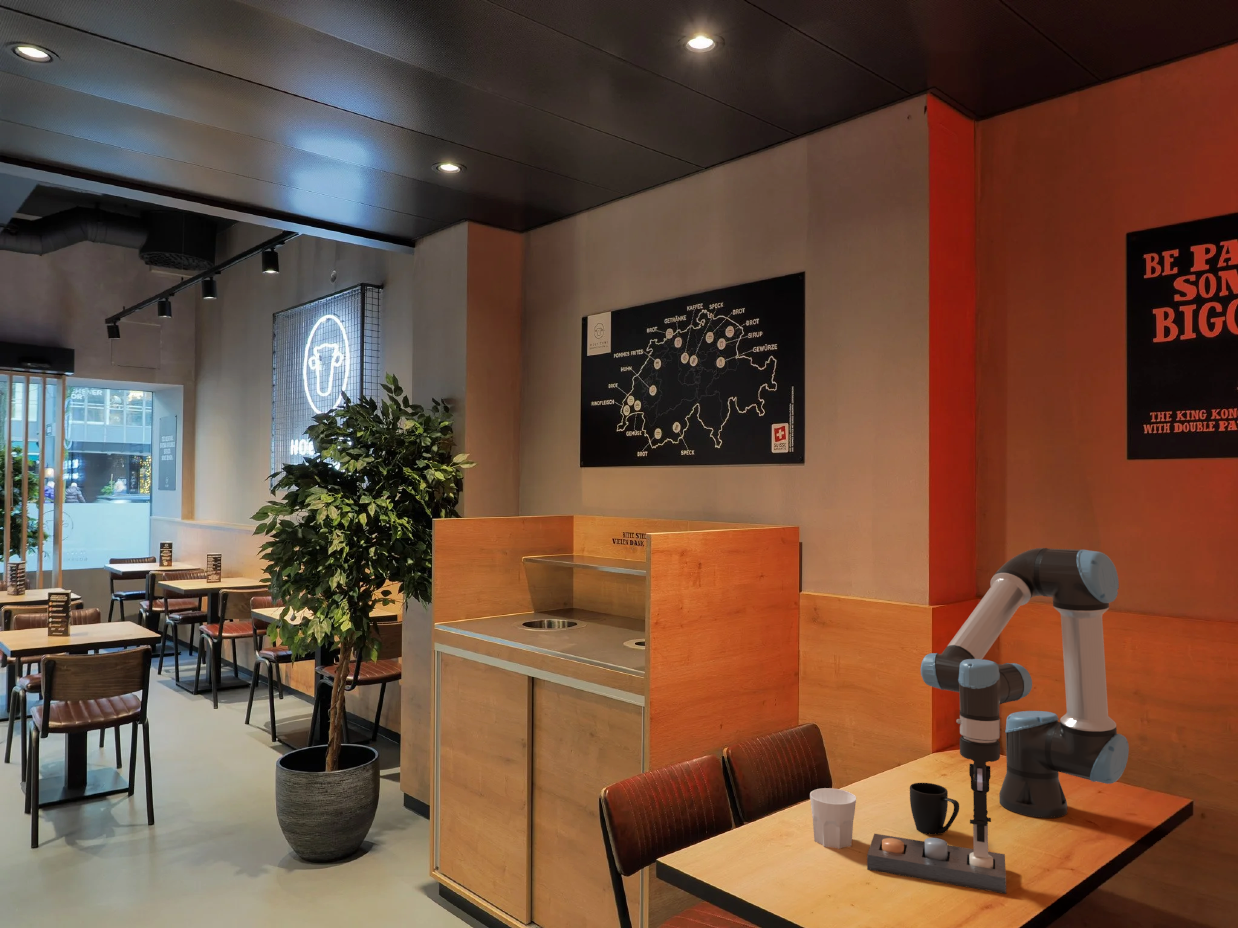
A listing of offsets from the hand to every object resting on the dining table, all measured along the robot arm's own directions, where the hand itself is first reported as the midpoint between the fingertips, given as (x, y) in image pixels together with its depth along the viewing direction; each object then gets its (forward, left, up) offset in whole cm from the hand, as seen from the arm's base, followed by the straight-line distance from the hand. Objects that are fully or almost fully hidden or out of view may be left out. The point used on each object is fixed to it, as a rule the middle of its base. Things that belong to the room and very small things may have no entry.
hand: (980, 855), depth 170 cm
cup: (+23, -20, -5) cm, 31 cm away
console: (+7, -4, -4) cm, 10 cm away
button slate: (+7, -4, -2) cm, 9 cm away
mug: (-2, -22, -5) cm, 23 cm away
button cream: (0, 0, -4) cm, 4 cm away
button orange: (+15, -9, -4) cm, 17 cm away
